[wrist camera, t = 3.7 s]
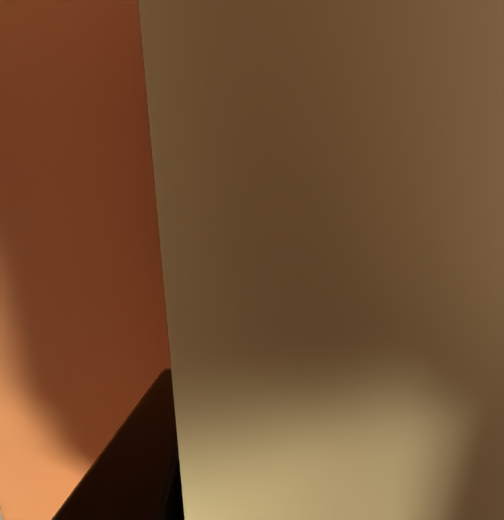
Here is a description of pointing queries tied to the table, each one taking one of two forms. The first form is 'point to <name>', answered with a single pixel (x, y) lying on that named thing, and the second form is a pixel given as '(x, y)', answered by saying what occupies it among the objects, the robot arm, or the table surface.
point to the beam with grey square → (332, 254)
